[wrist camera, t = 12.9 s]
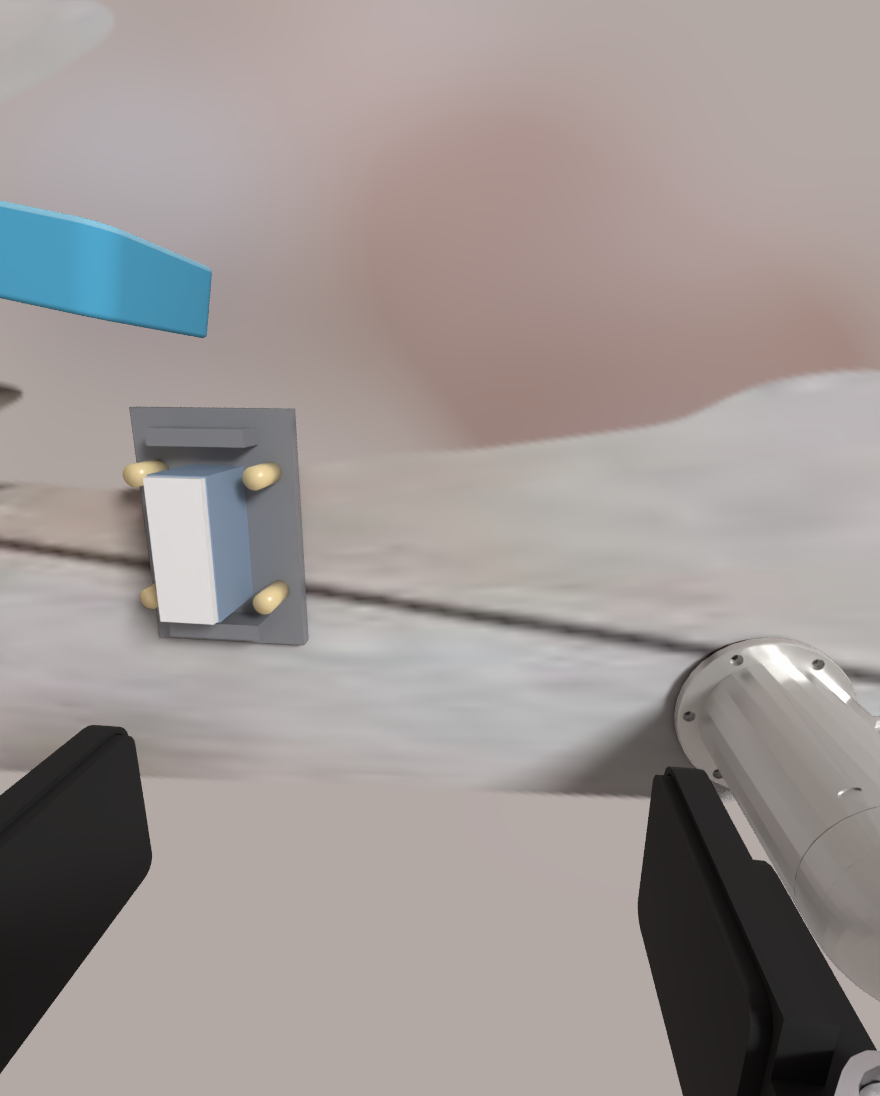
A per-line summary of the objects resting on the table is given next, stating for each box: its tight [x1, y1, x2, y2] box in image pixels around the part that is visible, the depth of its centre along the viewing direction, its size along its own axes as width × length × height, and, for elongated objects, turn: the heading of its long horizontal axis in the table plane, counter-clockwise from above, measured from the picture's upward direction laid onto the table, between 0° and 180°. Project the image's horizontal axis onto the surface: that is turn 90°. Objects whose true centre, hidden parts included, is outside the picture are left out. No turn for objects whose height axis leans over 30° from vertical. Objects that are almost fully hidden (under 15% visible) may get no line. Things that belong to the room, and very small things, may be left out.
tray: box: [123, 407, 308, 645], centre depth 42 cm, size 12×18×4 cm, turn 179°
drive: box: [143, 464, 253, 625], centre depth 40 cm, size 4×10×6 cm, turn 179°
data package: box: [0, 201, 212, 338], centre depth 34 cm, size 12×4×12 cm, turn 78°
